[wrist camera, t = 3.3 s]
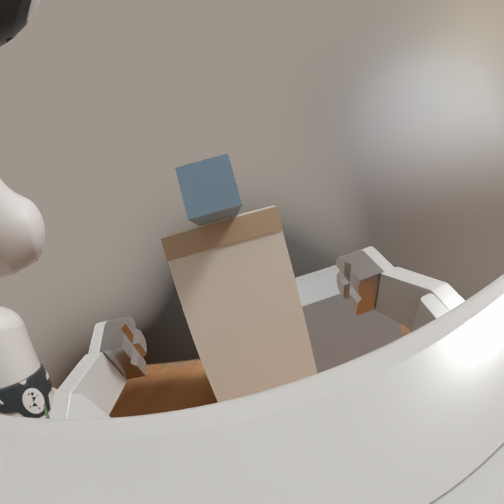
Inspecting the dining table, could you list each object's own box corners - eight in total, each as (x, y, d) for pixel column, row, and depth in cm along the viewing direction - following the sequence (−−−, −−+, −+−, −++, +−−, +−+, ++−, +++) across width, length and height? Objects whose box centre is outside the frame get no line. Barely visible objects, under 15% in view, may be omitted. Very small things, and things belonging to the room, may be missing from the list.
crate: (404, 376, 31) (393, 273, 30) (325, 412, 30) (301, 306, 29) (356, 340, 47) (341, 263, 46) (296, 363, 46) (275, 283, 45)
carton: (326, 412, 30) (276, 204, 28) (233, 439, 29) (160, 237, 27) (296, 363, 46) (257, 217, 44) (229, 382, 45) (183, 238, 43)
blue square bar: (241, 204, 20) (227, 153, 20) (188, 219, 20) (175, 168, 19) (233, 222, 40) (226, 196, 39) (206, 230, 39) (199, 203, 39)
